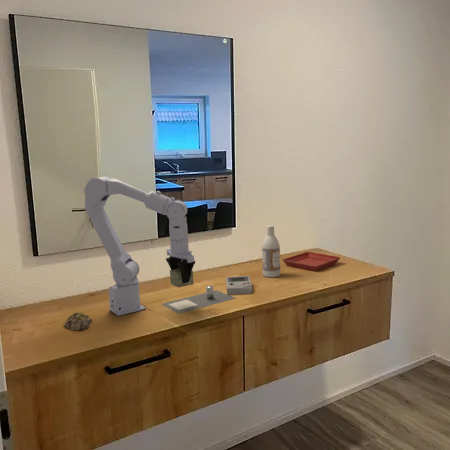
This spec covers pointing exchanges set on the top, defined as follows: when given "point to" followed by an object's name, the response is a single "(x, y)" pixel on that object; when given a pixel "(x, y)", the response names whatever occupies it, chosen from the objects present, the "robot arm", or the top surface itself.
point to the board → (196, 302)
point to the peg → (209, 292)
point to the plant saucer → (311, 261)
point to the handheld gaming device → (238, 285)
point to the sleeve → (179, 278)
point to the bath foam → (271, 254)
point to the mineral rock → (78, 321)
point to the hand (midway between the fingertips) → (181, 280)
